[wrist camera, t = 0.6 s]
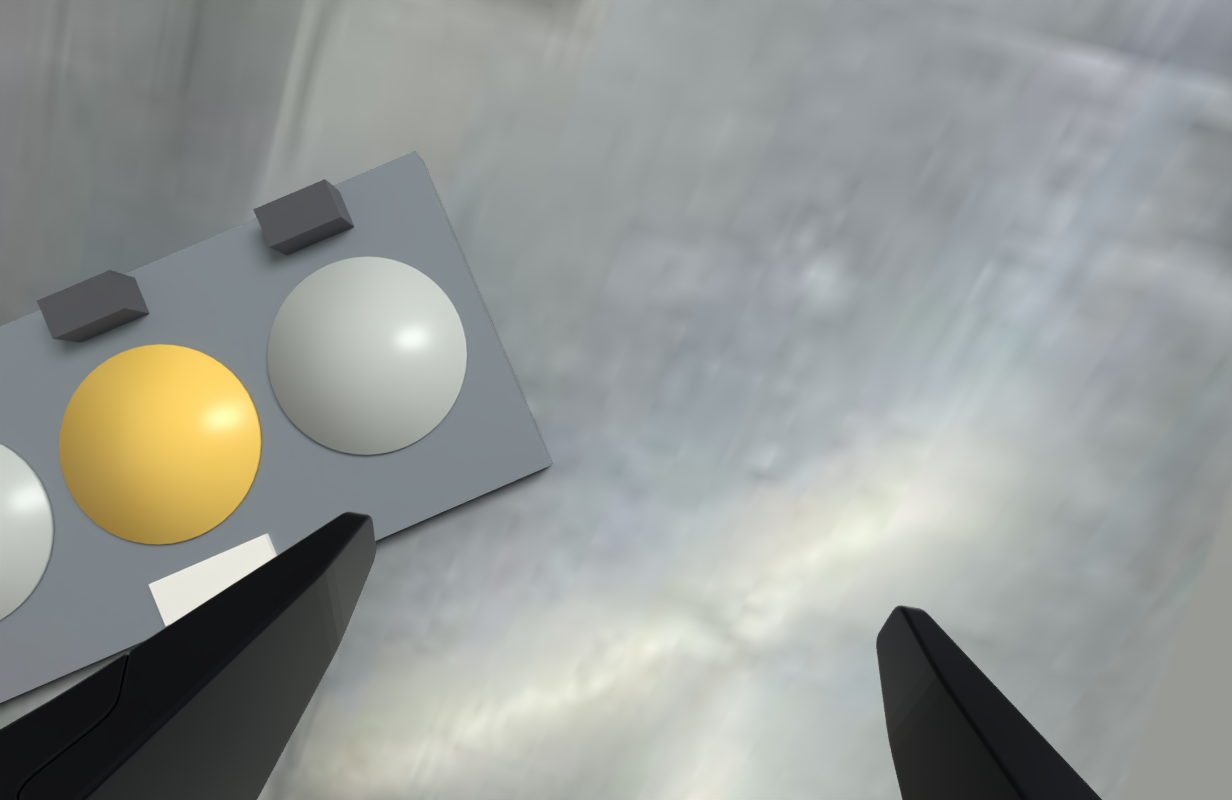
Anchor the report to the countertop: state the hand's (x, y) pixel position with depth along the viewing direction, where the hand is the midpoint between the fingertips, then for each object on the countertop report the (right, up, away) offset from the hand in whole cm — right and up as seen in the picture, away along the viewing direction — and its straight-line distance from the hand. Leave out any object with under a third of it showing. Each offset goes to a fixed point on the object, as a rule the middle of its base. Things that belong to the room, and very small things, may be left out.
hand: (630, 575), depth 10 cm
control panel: (-19, +1, +15) cm, 24 cm away
